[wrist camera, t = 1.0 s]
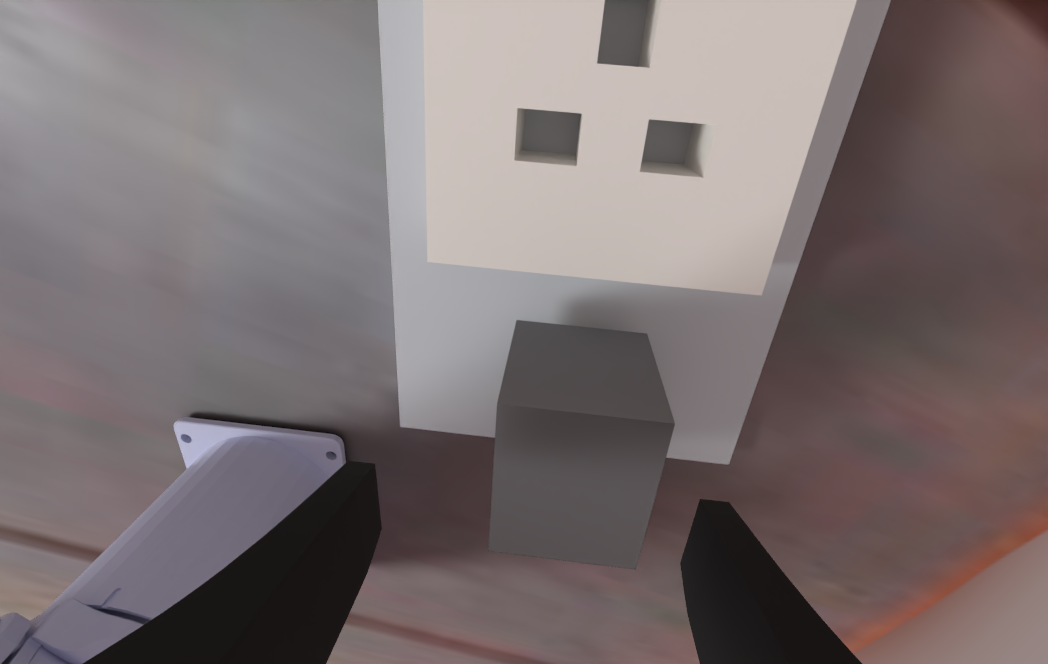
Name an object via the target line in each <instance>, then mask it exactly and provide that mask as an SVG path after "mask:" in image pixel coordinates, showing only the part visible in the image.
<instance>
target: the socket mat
mask: <svg viewBox="0 0 1048 664" xmlns="http://www.w3.org/2000/svg"><path fill="white" fill-rule="evenodd" d="M648 1H649V0H605V4H604V12H603V20H602V28H601V35H600V43H599V51H598V59H597V64H610V65H622V66H634V67H638V64H639V58H640V51H641V45H642V39H643V33H644V26H645V20H646V14H647V8H648ZM890 2H891V0H857V1H856V4H855V8H854V11H853V14H852V17H851V20H850V23H849V26H848V29H847V32H846V35H845V39H844V42H843V45H842V48H841V51H840V54H839V57H838V60H837V63H836V66H835V70H834V73H833V76H832V79H831V82H830V85H829V88H828V91H827V94H826V97H825V101H824V104H823V107H822V110H821V113H820V116H819V119H818V122H817V125H816V128H815V132H814V135H813V138H812V141H811V144H810V147H809V150H808V153H807V156H806V159H805V163H804V166H803V169H802V172H801V175H800V178H799V181H798V184H797V187H796V190H795V193H794V197H793V200H792V203H791V206H790V209H789V212H788V215H787V218H786V221H785V224H784V228H783V231H782V234H781V237H780V240H779V243H778V246H777V249H776V252H775V255H774V259H773V262H772V265H771V268H770V271H769V274H768V277H767V280H766V283H765V286H764V290H763V293H762V296H760V295H750V294H740V293H730V292H720V291H710V290H701V289H691V288H681V287H671V286H661V285H651V284H641V283H631V282H621V281H611V280H601V279H591V278H581V277H571V276H561V275H551V274H541V273H531V272H521V271H512V270H502V269H492V268H482V267H472V266H462V265H452V264H442V263H432V262H427V214H426V156H425V97H424V39H423V0H378V15H379V34H380V53H381V72H382V91H383V110H384V129H385V148H386V167H387V186H388V205H389V224H390V243H391V262H392V281H393V300H394V319H395V338H396V357H397V376H398V395H399V414H400V427H406V428H415V429H423V430H432V431H441V432H449V433H458V434H467V435H475V436H484V437H493V438H495V428H496V412H497V401H498V397H499V393H500V389H501V384H502V380H503V376H504V371H505V367H506V363H507V359H508V354H509V350H510V346H511V341H512V337H513V333H514V329H515V324H516V320H523V321H532V322H542V323H551V324H561V325H571V326H580V327H590V328H599V329H609V330H618V331H628V332H637V333H647V335H648V338H649V341H650V344H651V348H652V351H653V354H654V357H655V360H656V364H657V367H658V370H659V373H660V377H661V380H662V383H663V386H664V389H665V393H666V396H667V399H668V402H669V406H670V409H671V412H672V415H673V418H674V422H675V426H674V430H673V434H672V437H671V441H670V445H669V448H668V452H667V456H666V458H674V459H683V460H692V461H700V462H709V463H717V464H726V465H729V462H730V460H731V457H732V454H733V451H734V448H735V445H736V442H737V440H738V437H739V434H740V431H741V428H742V425H743V422H744V420H745V417H746V414H747V411H748V408H749V405H750V402H751V400H752V397H753V394H754V391H755V388H756V385H757V382H758V379H759V377H760V374H761V371H762V368H763V365H764V362H765V359H766V357H767V354H768V351H769V348H770V345H771V342H772V339H773V337H774V334H775V331H776V328H777V325H778V322H779V319H780V317H781V314H782V311H783V308H784V305H785V302H786V299H787V297H788V294H789V291H790V288H791V285H792V282H793V279H794V276H795V274H796V271H797V268H798V265H799V262H800V259H801V256H802V254H803V251H804V248H805V245H806V242H807V239H808V236H809V234H810V231H811V228H812V225H813V222H814V219H815V216H816V214H817V211H818V208H819V205H820V202H821V199H822V196H823V194H824V191H825V188H826V185H827V182H828V179H829V176H830V173H831V171H832V168H833V165H834V162H835V159H836V156H837V153H838V151H839V148H840V145H841V142H842V139H843V136H844V133H845V131H846V128H847V125H848V122H849V119H850V116H851V113H852V111H853V108H854V105H855V102H856V99H857V96H858V93H859V91H860V88H861V85H862V82H863V79H864V76H865V73H866V70H867V68H868V65H869V62H870V59H871V56H872V53H873V50H874V48H875V45H876V42H877V39H878V36H879V33H880V30H881V28H882V25H883V22H884V19H885V16H886V13H887V10H888V8H889V5H890ZM580 114H581V113H570V112H558V111H547V110H535V109H525V119H524V134H523V148H522V150H528V151H539V152H550V153H562V154H573V155H576V149H577V140H578V131H579V123H580ZM692 126H693V123H686V122H674V121H663V120H651V119H649V122H648V128H647V134H646V139H645V145H644V151H643V156H642V161H651V162H662V163H673V164H684V163H685V158H686V153H687V149H688V144H689V139H690V135H691V130H692Z"/></svg>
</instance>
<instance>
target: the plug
mask: <svg viewBox="0 0 1048 664" xmlns="http://www.w3.org/2000/svg"><path fill="white" fill-rule="evenodd" d="M674 426H675V422H674V418H673V415H672V412H671V409H670V406H669V402H668V399H667V396H666V393H665V389H664V386H663V383H662V380H661V377H660V373H659V370H658V367H657V364H656V360H655V357H654V354H653V351H652V348H651V344H650V341H649V338H648V335H647V333H637V332H628V331H618V330H609V329H599V328H590V327H580V326H571V325H561V324H551V323H542V322H532V321H523V320H516V324H515V329H514V333H513V337H512V341H511V346H510V350H509V354H508V359H507V363H506V367H505V371H504V376H503V380H502V384H501V389H500V393H499V397H498V401H497V412H496V428H495V445H494V462H493V479H492V495H491V512H490V529H489V546H488V551H491V552H499V553H507V554H515V555H523V556H531V557H539V558H547V559H555V560H563V561H571V562H579V563H587V564H595V565H603V566H611V567H619V568H627V569H635V570H636V567H637V563H638V559H639V556H640V552H641V548H642V545H643V541H644V537H645V534H646V530H647V526H648V522H649V519H650V515H651V511H652V508H653V504H654V500H655V497H656V493H657V489H658V485H659V482H660V478H661V474H662V471H663V467H664V463H665V459H666V456H667V452H668V448H669V445H670V441H671V437H672V434H673V430H674Z"/></svg>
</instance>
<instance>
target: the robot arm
mask: <svg viewBox="0 0 1048 664" xmlns="http://www.w3.org/2000/svg"><path fill="white" fill-rule="evenodd" d="M174 430H175V433H176V436H177V439H178V443H179V446H180V449H181V452H182V455H183V458H184V461H185V464H186V468H187V470H186V471H185V472H184V473H183V474H182V475H181V476H180V477H179V478H178V479H177V480H176V481H175V482H174V483H173V484H172V485H171V486H170V487H169V488H168V489H167V490H166V491H165V492H164V493H162V494H161V495H160V496H159V497H158V498H157V499H156V500H155V501H154V502H153V503H152V504H151V505H150V506H149V507H148V508H147V509H146V510H145V511H144V512H143V513H142V514H141V515H140V516H139V517H138V518H137V519H136V520H135V521H134V522H133V523H132V524H131V525H130V526H129V527H128V528H127V529H126V530H125V531H124V532H123V533H122V534H121V535H120V536H119V537H118V538H117V539H116V540H115V541H114V542H113V543H112V544H111V545H110V546H109V547H108V548H107V549H106V550H105V551H104V552H103V553H102V554H101V555H100V556H99V557H98V558H97V559H96V560H95V561H94V562H93V563H92V564H91V565H90V566H89V567H88V568H87V569H86V570H85V571H84V572H83V573H82V574H81V575H80V576H79V577H78V578H77V579H76V580H75V581H74V582H73V583H72V584H71V585H70V586H69V587H68V588H67V589H66V590H65V591H64V592H63V593H62V594H61V595H60V596H59V597H58V598H57V599H56V600H55V601H54V602H53V603H52V604H51V605H50V606H49V607H48V608H47V609H46V610H45V611H44V612H43V613H42V614H41V615H39V616H37V617H35V618H34V619H32V620H30V621H29V620H28V619H26V618H24V617H23V616H21V615H20V614H18V613H14V612H13V613H9V614H6V615H3V616H2V617H0V664H326V663H327V660H328V658H329V656H330V654H331V652H332V649H333V647H334V645H335V643H336V641H337V639H338V636H339V634H340V632H341V630H342V628H343V625H344V623H345V621H346V619H347V617H348V615H349V612H350V610H351V608H352V606H353V604H354V601H355V599H356V597H357V595H358V593H359V590H360V588H361V586H362V584H363V581H364V579H365V577H366V575H367V572H368V569H369V566H370V563H371V560H372V557H373V554H374V551H375V548H376V545H377V542H378V538H379V535H380V532H381V529H382V528H381V518H380V508H379V499H378V489H377V479H376V470H375V464H371V463H362V462H353V461H348V462H347V463H346V458H345V450H344V443H343V440H342V439H341V438H340V437H339V436H337V435H334V434H328V433H319V432H311V431H302V430H293V429H285V428H276V427H268V426H259V425H251V424H242V423H234V422H225V421H216V420H208V419H199V418H191V417H182V418H180V419H179V420H177V421H176V422H175V424H174ZM330 451H331V452H334V453H335V454H336V455H335V454H332V453H331V452H330ZM681 571H682V579H683V586H684V594H685V600H686V607H687V613H688V617H689V621H690V626H691V630H692V634H693V638H694V642H695V646H696V650H697V654H698V657H699V661H700V664H862V663H861V662H860V661H859V660H858V659H857V658H856V657H855V656H854V655H853V653H852V652H851V651H850V650H849V649H848V648H847V647H846V646H845V645H844V643H843V642H842V641H841V640H840V639H839V638H838V637H837V636H836V634H835V633H834V632H833V631H832V630H831V629H830V628H829V627H828V626H827V624H826V623H825V622H824V621H823V620H822V619H821V617H820V616H819V615H818V614H817V613H816V612H815V610H814V609H813V608H812V607H811V606H810V604H809V603H808V602H807V601H806V600H805V598H804V597H803V596H802V595H801V594H800V592H799V591H798V590H797V589H796V587H795V586H794V585H793V584H792V583H791V581H790V580H789V579H788V578H787V576H786V575H785V574H784V573H783V571H782V570H781V569H780V568H779V566H778V565H777V564H776V563H775V561H774V560H773V559H772V558H771V556H770V555H769V554H768V552H767V551H766V550H765V549H764V547H763V546H762V545H761V543H760V542H759V541H758V539H757V538H756V537H755V536H754V534H753V533H752V532H751V530H750V529H749V528H748V526H747V525H746V524H745V522H744V521H743V520H742V519H741V517H740V516H739V515H738V513H737V512H736V511H735V510H734V508H733V507H732V506H731V504H730V503H729V502H722V501H713V500H703V499H700V501H699V504H698V508H697V511H696V514H695V517H694V521H693V524H692V527H691V530H690V534H689V537H688V540H687V543H686V547H685V550H684V553H683V556H682V560H681Z"/></svg>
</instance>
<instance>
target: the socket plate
mask: <svg viewBox="0 0 1048 664" xmlns="http://www.w3.org/2000/svg"><path fill="white" fill-rule="evenodd" d="M856 1H857V0H649V1H648V8H647V14H646V20H645V26H644V33H643V39H642V45H641V51H640V58H639V64H638V67H634V66H622V65H610V64H597V59H598V51H599V43H600V35H601V28H602V20H603V12H604V4H605V0H423V39H424V97H425V156H426V214H427V262H432V263H442V264H452V265H462V266H472V267H482V268H492V269H502V270H512V271H521V272H531V273H541V274H551V275H561V276H571V277H581V278H591V279H601V280H611V281H621V282H631V283H641V284H651V285H661V286H671V287H681V288H691V289H701V290H710V291H720V292H730V293H740V294H750V295H760V296H762V293H763V290H764V286H765V283H766V280H767V277H768V274H769V271H770V268H771V265H772V262H773V259H774V255H775V252H776V249H777V246H778V243H779V240H780V237H781V234H782V231H783V228H784V224H785V221H786V218H787V215H788V212H789V209H790V206H791V203H792V200H793V197H794V193H795V190H796V187H797V184H798V181H799V178H800V175H801V172H802V169H803V166H804V163H805V159H806V156H807V153H808V150H809V147H810V144H811V141H812V138H813V135H814V132H815V128H816V125H817V122H818V119H819V116H820V113H821V110H822V107H823V104H824V101H825V97H826V94H827V91H828V88H829V85H830V82H831V79H832V76H833V73H834V70H835V66H836V63H837V60H838V57H839V54H840V51H841V48H842V45H843V42H844V39H845V35H846V32H847V29H848V26H849V23H850V20H851V17H852V14H853V11H854V8H855V4H856ZM525 109H535V110H547V111H558V112H570V113H581V114H580V123H579V131H578V140H577V149H576V155H573V154H562V153H550V152H539V151H528V150H522V148H523V134H524V119H525ZM649 119H651V120H663V121H674V122H686V123H693V126H692V130H691V135H690V139H689V144H688V149H687V153H686V158H685V163H684V164H673V163H662V162H651V161H642V156H643V151H644V145H645V139H646V134H647V128H648V122H649Z"/></svg>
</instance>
